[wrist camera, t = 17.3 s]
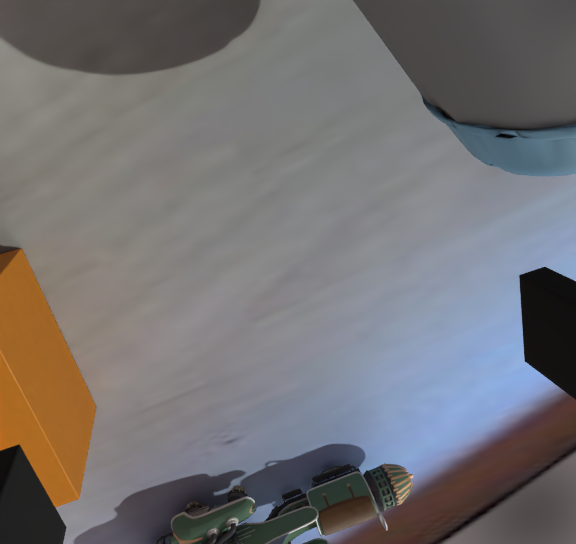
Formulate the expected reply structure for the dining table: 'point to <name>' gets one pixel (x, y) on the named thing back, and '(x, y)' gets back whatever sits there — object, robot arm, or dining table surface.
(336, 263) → the dining table surface
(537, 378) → the dining table surface
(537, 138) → the robot arm
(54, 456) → the orange striped block
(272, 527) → the hoverbike
